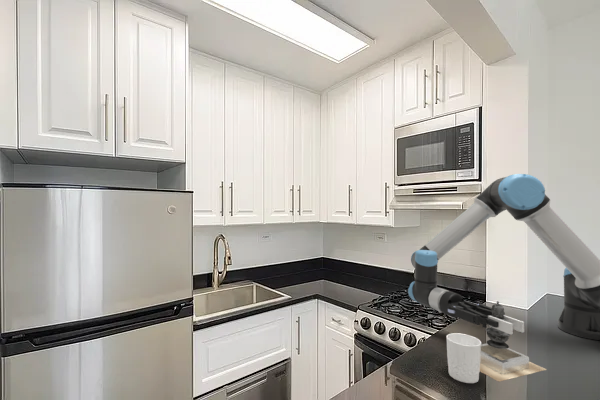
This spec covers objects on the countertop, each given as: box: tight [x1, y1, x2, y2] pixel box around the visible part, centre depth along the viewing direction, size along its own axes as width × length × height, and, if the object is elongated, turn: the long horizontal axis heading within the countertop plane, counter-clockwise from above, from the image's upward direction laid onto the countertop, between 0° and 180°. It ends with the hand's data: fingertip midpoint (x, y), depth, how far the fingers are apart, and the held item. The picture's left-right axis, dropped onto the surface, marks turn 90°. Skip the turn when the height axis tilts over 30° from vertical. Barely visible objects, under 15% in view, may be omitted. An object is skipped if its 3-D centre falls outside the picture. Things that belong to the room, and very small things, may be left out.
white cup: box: [445, 332, 482, 384], centre depth 80 cm, size 8×8×10 cm
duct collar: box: [480, 342, 530, 375], centre depth 87 cm, size 10×10×3 cm
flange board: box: [479, 354, 547, 383], centre depth 87 cm, size 18×14×1 cm
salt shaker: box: [484, 300, 511, 349], centre depth 87 cm, size 6×6×12 cm
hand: (517, 328), depth 82 cm, fingers closed on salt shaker, 4 cm apart
